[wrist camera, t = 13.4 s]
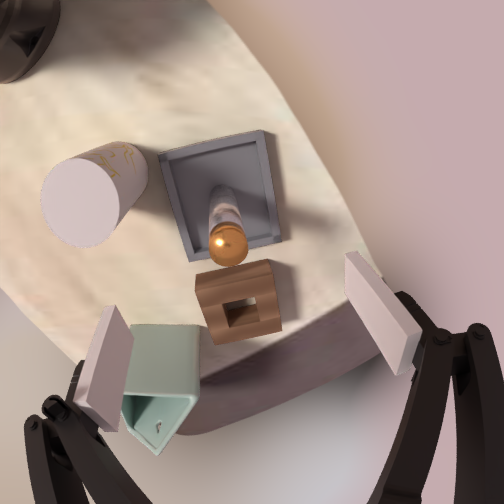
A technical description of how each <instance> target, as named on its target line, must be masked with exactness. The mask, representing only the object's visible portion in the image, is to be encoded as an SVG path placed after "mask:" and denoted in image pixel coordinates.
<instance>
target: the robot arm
mask: <svg viewBox="0 0 504 504" xmlns="http://www.w3.org/2000/svg"><path fill="white" fill-rule="evenodd" d="M59 15H60V3H59V0H0V84H4V83H9V82H12V81H14V80H16V79H18V78H19V77H21V76H22V75H24V74H25V73H26V72H27V71H28V70H29V69H30V68H32V66H33V65H34V64H35V63H36V62H37V61H38V60H39V58H40V57H41V56H42V54H43V53H44V51H45V50H46V48H47V47H48V45H49V43H50V41H51V39H52V37H53V35H54V33H55V30H56V27H57V24H58V21H59ZM345 294H346V296H347V297H348V299H349V300H350V302H351V304H352V305H353V307H354V308H355V310H356V311H357V313H358V315H359V316H360V318H361V319H362V321H363V323H364V324H365V326H366V328H367V329H368V331H369V332H370V334H371V336H372V337H373V339H374V341H375V342H376V344H377V346H378V347H379V349H380V351H381V352H382V354H383V356H384V357H385V359H386V361H387V362H388V364H389V366H390V368H391V369H392V371H393V373H394V374H395V376H398V375H400V374H402V373H405V372H407V371H409V370H410V367H411V364H412V363H413V365H414V366H415V368H416V370H415V373H414V375H413V377H412V380H411V381H412V385H411V389H410V393H409V396H408V400H407V403H406V406H405V410H404V414H403V416H402V420H401V423H400V426H399V429H398V432H397V434H396V438H395V440H394V443H393V446H392V449H391V451H390V454H389V456H388V459H387V461H386V464H385V466H384V468H383V471H382V473H381V476H380V478H379V480H378V482H377V484H376V487H375V489H374V491H373V493H372V495H371V497H370V499H369V501H368V503H367V504H421V501H422V499H421V493H422V490H423V487H424V484H425V482H426V479H427V476H428V473H429V470H430V467H431V464H432V460H433V457H434V453H435V450H436V446H437V442H438V439H439V435H440V430H441V426H442V422H443V417H444V413H445V407H446V402H447V396H448V390H449V384H450V377H451V376H452V381H453V389H454V400H455V411H456V412H455V413H456V433H457V463H456V483H455V496H454V504H504V380H503V376H502V371H501V367H500V363H499V359H498V355H497V352H496V348H495V345H494V341H493V338H492V335H491V332H490V330H489V329H488V327H486V326H485V325H483V324H481V323H474V324H472V325H470V326H469V328H468V330H467V332H464V333H457V334H451V333H450V332H449V331H448V330H446V329H442V328H437V327H436V326H435V324H434V323H433V322H432V320H431V319H430V318H429V317H428V316H427V314H426V313H425V312H424V311H423V310H422V309H421V307H420V306H419V305H418V304H416V301H415V300H414V299H413V298H412V297H411V296H410V295H408V294H407V293H405V292H403V291H400V292H397V293H393V292H392V291H391V290H390V289H389V287H388V286H387V285H386V284H385V283H384V281H383V280H382V279H381V278H380V277H379V275H378V274H377V273H376V272H375V271H374V270H373V268H372V267H371V266H370V265H369V264H368V263H367V262H366V260H365V259H364V258H363V257H362V256H361V255H360V254H359V253H358V251H354V252H350V253H346V254H345ZM134 339H135V338H134V337H133V335H132V333H131V332H130V330H129V328H128V326H127V325H126V323H125V321H124V319H123V318H122V316H121V314H120V312H119V310H118V308H117V307H116V305H112V306H107V307H104V310H103V312H102V315H101V317H100V320H99V323H98V325H97V328H96V331H95V333H94V336H93V339H92V342H91V345H90V347H89V350H88V353H87V356H86V359H85V360H81V361H80V362H79V364H78V365H77V366H76V368H75V371H74V374H73V377H72V380H71V383H70V387H69V390H68V393H67V396H66V400H65V401H64V400H63V399H62V398H61V397H60V396H58V395H51V396H49V397H48V398H47V399H46V400H45V401H44V403H43V405H42V413H43V414H44V415H45V416H46V417H48V418H46V419H42V418H40V417H39V416H38V415H31V416H30V417H28V418H27V420H26V422H25V424H24V435H25V446H26V454H27V462H28V468H29V475H30V480H31V486H32V490H33V495H34V500H35V504H89V501H88V498H87V496H86V492H85V490H84V486H83V484H84V485H85V487H86V489H87V490H88V492H89V494H90V495H91V497H92V499H93V500H94V502H95V503H96V504H152V502H151V501H150V500H149V499H148V498H147V497H146V495H145V494H144V493H143V492H142V491H141V489H140V488H139V487H138V486H137V485H136V483H135V482H134V481H133V480H132V478H131V477H130V476H129V474H128V473H127V472H126V470H125V469H124V468H123V466H122V465H121V464H120V462H119V461H118V460H117V458H116V457H115V455H114V454H113V452H112V451H111V450H110V448H109V447H108V445H107V444H106V442H105V441H104V439H103V437H102V436H101V435H100V434H99V433H98V427H100V428H102V429H103V430H104V431H105V432H118V426H119V419H120V413H121V407H122V400H123V394H124V389H125V383H126V378H127V372H128V367H129V362H130V357H131V353H132V348H133V343H134ZM82 482H83V483H82Z"/></svg>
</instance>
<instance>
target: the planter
mask: <svg viewBox="0 0 504 504" xmlns="http://www.w3.org/2000/svg"><path fill="white" fill-rule="evenodd" d="M129 330H130V332H131V333H132V335H133V337H134V338H135V339H134V343H133V348H132V353H131V357H130V362H129V367H128V372H127V378H126V383H125V389H124V394H123V400H122V407H121V415H122V416H123V419H124V421H125V424H126V426H127V429H128V431H129V432H130V433H131V434H132V435H134V436H135V437H136V438H137V439H138V440H139V441H141V442H142V443H143V444H144V445H145V446H146V447H147V448H149V449H150V450H151V451H152V452H153V453H154V454H155V455H160V454H161V452H162V451H163V449H164V448H165V447H166V445H167V444H168V442H169V441H170V440H171V438H172V437H173V435H174V434H175V432H176V431H177V430H178V428H179V427H180V426H181V424H182V423H183V421H184V420H185V419H186V417H187V416H188V414H189V413H190V411H191V410H192V408H193V407H194V405H195V404H196V403H197V401H198V399H199V397H200V326H199V325H148V324H146V325H131V326H130V329H129ZM160 422H162V424H161V427H160V432H159V430H158V425H159V423H160Z"/></svg>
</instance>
